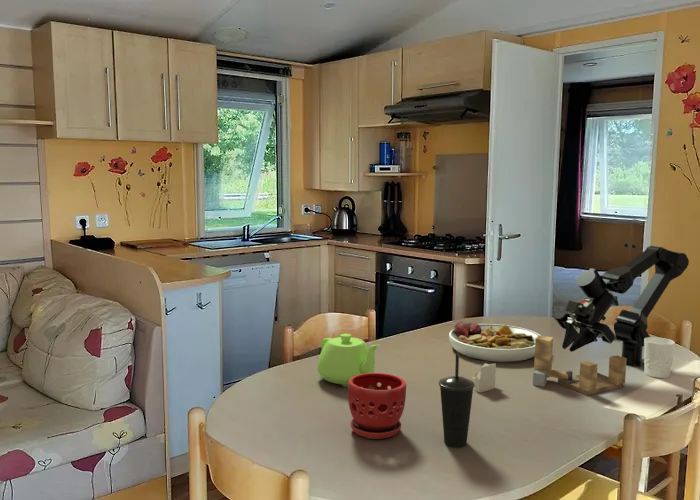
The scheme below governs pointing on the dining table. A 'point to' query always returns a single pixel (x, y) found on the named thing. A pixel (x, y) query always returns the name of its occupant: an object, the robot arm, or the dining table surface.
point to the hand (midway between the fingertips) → (566, 349)
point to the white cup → (658, 356)
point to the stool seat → (597, 377)
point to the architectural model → (485, 378)
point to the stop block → (539, 378)
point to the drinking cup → (456, 407)
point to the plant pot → (376, 404)
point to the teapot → (345, 359)
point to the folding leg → (547, 358)
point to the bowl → (493, 341)
